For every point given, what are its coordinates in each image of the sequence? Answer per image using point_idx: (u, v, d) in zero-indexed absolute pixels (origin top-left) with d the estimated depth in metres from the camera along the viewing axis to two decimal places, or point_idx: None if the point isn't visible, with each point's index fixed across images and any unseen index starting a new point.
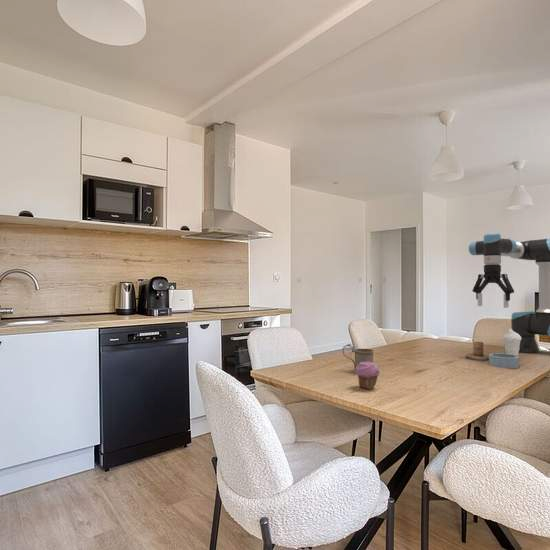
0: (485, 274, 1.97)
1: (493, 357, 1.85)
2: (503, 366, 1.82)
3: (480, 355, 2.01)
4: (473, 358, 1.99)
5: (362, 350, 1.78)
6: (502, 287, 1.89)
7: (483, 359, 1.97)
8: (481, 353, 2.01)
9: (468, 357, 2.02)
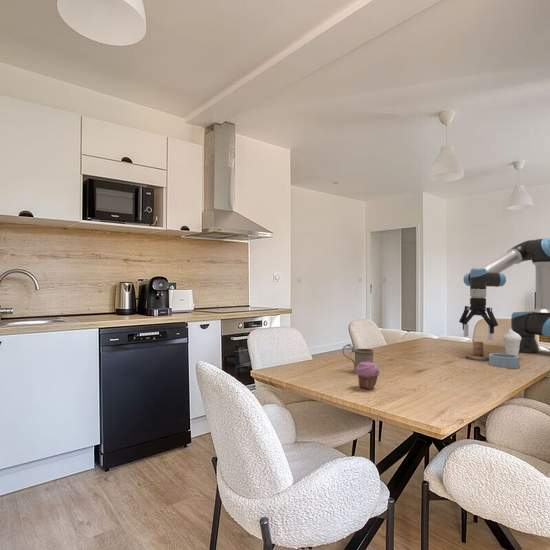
0: (471, 306, 2.06)
1: (493, 357, 1.85)
2: (503, 366, 1.82)
3: (480, 355, 2.01)
4: (473, 358, 1.99)
5: (362, 350, 1.78)
6: (487, 320, 1.98)
7: (483, 359, 1.97)
8: (481, 353, 2.01)
9: (468, 357, 2.02)
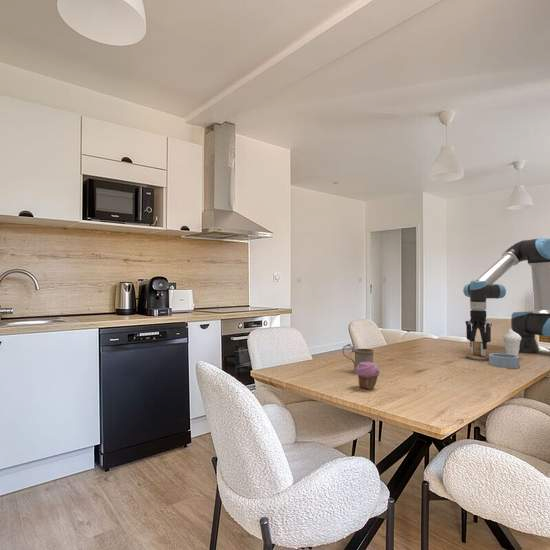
0: (471, 319, 2.06)
1: (493, 357, 1.85)
2: (503, 366, 1.82)
3: (480, 355, 2.01)
4: (473, 358, 1.99)
5: (362, 350, 1.78)
6: (482, 335, 2.00)
7: (483, 359, 1.97)
8: None
9: (468, 357, 2.02)
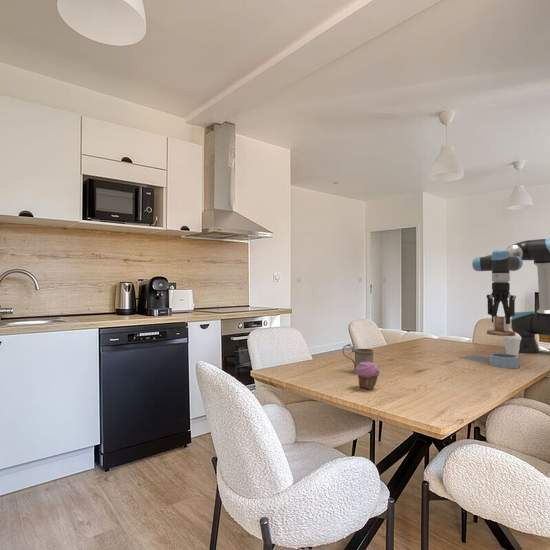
0: (492, 292, 1.92)
1: (493, 357, 1.85)
2: (503, 366, 1.82)
3: (503, 330, 1.86)
4: (495, 333, 1.85)
5: (362, 350, 1.78)
6: (505, 309, 1.86)
7: (506, 334, 1.83)
8: None
9: (490, 332, 1.88)
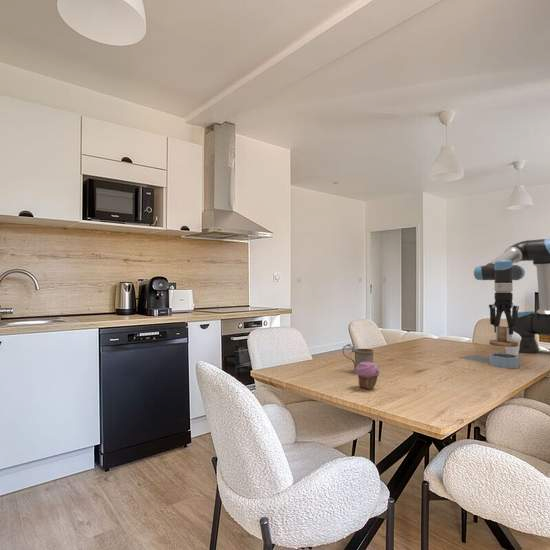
0: (495, 302, 1.90)
1: (493, 357, 1.85)
2: (503, 366, 1.82)
3: (506, 341, 1.85)
4: (498, 344, 1.83)
5: (362, 350, 1.78)
6: (508, 319, 1.84)
7: (509, 344, 1.81)
8: None
9: (493, 343, 1.86)
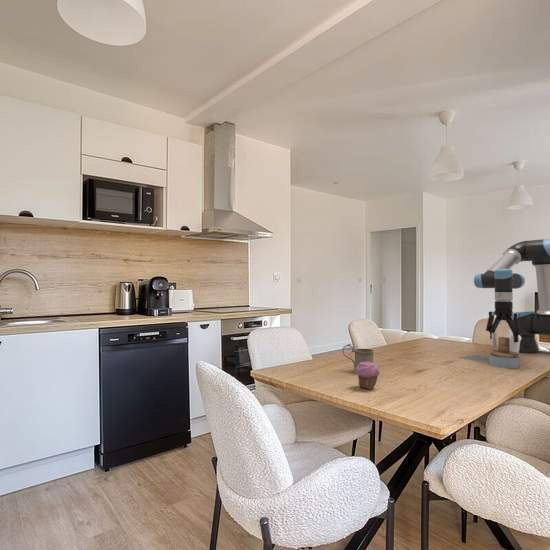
0: (496, 310, 1.90)
1: (493, 357, 1.85)
2: (503, 366, 1.82)
3: (506, 352, 1.85)
4: (499, 355, 1.83)
5: (362, 350, 1.78)
6: (511, 327, 1.83)
7: (510, 356, 1.81)
8: (507, 349, 1.85)
9: (493, 354, 1.86)
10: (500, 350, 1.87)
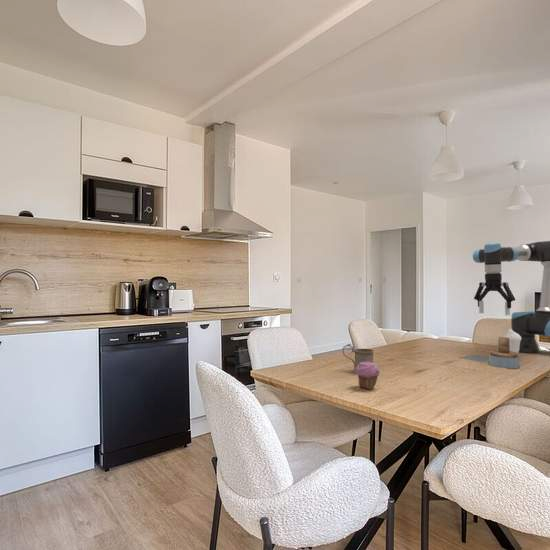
0: (486, 282, 2.03)
1: (493, 357, 1.85)
2: (503, 366, 1.82)
3: (506, 352, 1.85)
4: (499, 355, 1.83)
5: (362, 350, 1.78)
6: (503, 295, 1.95)
7: (510, 356, 1.81)
8: (507, 349, 1.85)
9: (493, 354, 1.86)
10: (500, 350, 1.87)
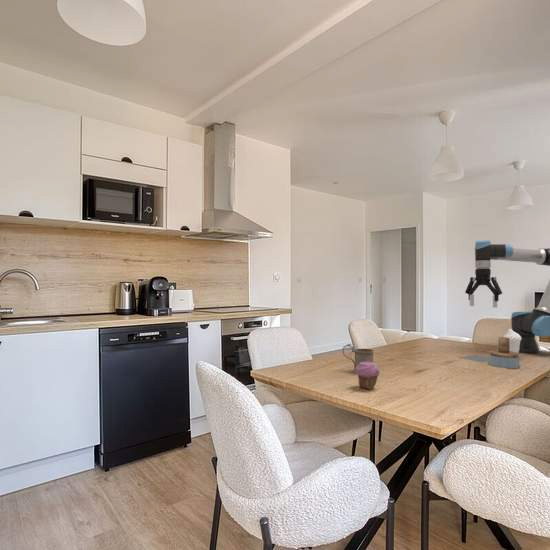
0: (476, 277, 2.17)
1: (493, 357, 1.85)
2: (503, 366, 1.82)
3: (506, 352, 1.85)
4: (499, 355, 1.83)
5: (362, 350, 1.78)
6: (491, 289, 2.10)
7: (510, 356, 1.81)
8: (507, 349, 1.85)
9: (493, 354, 1.86)
10: (500, 350, 1.87)
